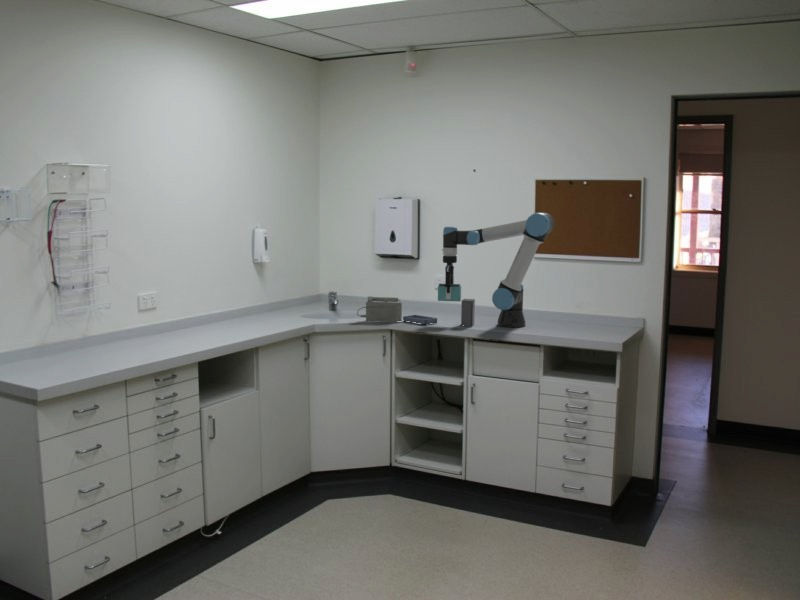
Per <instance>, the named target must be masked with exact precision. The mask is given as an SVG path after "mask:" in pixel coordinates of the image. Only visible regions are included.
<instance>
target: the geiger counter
mask: <svg viewBox="0 0 800 600" xmlns="http://www.w3.org/2000/svg"><path fill="white" fill-rule="evenodd" d="M361 309H365V314H362V315H360V314H358V313H359V311H360V310H361ZM402 309H403V303H402V302H401V301H400V299H399V297H388V296H387V297H385V296H383V297H382V296H379V297H378V296H369V295H368V296H367V301H365V306H362V307H361V308H359V309H357V311H356V315H357V316H358V317H361V318H365V322H366V321H380V322H379V323H398V322H397V321H402V322H403V317H402V311H403V310H402Z"/></svg>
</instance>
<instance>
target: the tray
mask: <svg viewBox="0 0 800 600" xmlns="http://www.w3.org/2000/svg"><path fill="white" fill-rule="evenodd" d="M403 320H404V321H410V322H416V323H421V324H425V325H424V326H427V325H426V324H430V323H437V324H438V317H433V316H427V315H426V316H425V315H421V314H420V315H419V314H411V315H403V317H402V321H403Z"/></svg>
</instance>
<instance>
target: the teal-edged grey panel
mask: <svg viewBox="0 0 800 600" xmlns="http://www.w3.org/2000/svg"><path fill="white" fill-rule="evenodd" d="M437 302H459V303H460V302H462V286H461V284H460V283H454V284H451V299H446V287H445V283H439V284H438V286H437Z"/></svg>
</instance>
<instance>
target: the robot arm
mask: <svg viewBox="0 0 800 600" xmlns="http://www.w3.org/2000/svg"><path fill="white" fill-rule="evenodd" d="M554 228H555V219H554V217H553V216H552V215H551V214H550V213H548V212H535V213H532V214H531V215H529V216H528V217H527V218H526V219H525V220H519V221H514V222H509V223H505V224H498V225H494V226H490V227H489V226H488V227H484V228H479V229H478V228H477V229H474V230H458V228H457V226H445V227H444V228H443V232H442V249H441V251H442V255H443V256H442V263H444V264H446V265H445V268H444V269H445V270H444V271H445V274H444V275H445V276H444V277H445V279H444V280H445V281H444V282H445V283H444V284H445V287H446V299H451V284H455V283H454V271H455V267H454V264H456V263H457V262H458V261H457V260H458V259H457V258H458V256H457V255H458V245H462V246H477V245H478V244H482V243H487V242H493V241H499V240H503V239H504V240H505V239H508V238H514V237H520V236H523V239H522V241H521V244H520V245H519V247H518V250H517V252H516V254H515V256H514V259H513V261H512V263H511V266H510V267H509V270H508V271H507V274H506V277H505V279H501V281H499V282H500V283H499V285H498V286H497V288H496V289H495V290H494V292H493V294H492V295H491V296H492V297H491V299H492V300H491V301H492V303H493V305H494V307H496V309H498V310H499V311H500V313H499V316H498V318H497V326H500V327H505V328H522V327H526V319H525V314H524V311H523V306H524V285H523V284H522V282H523V281H524V278H525V277H526V274H527V272H528V270H529V267H530V266H531V263H532V261H533V259H534V258H535V255H536V252H537V250H538V248H539V246H540V245H541V244H544V242H545V240H546V239H547V236H548V234H550V233H552V232H553V230H554Z"/></svg>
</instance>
